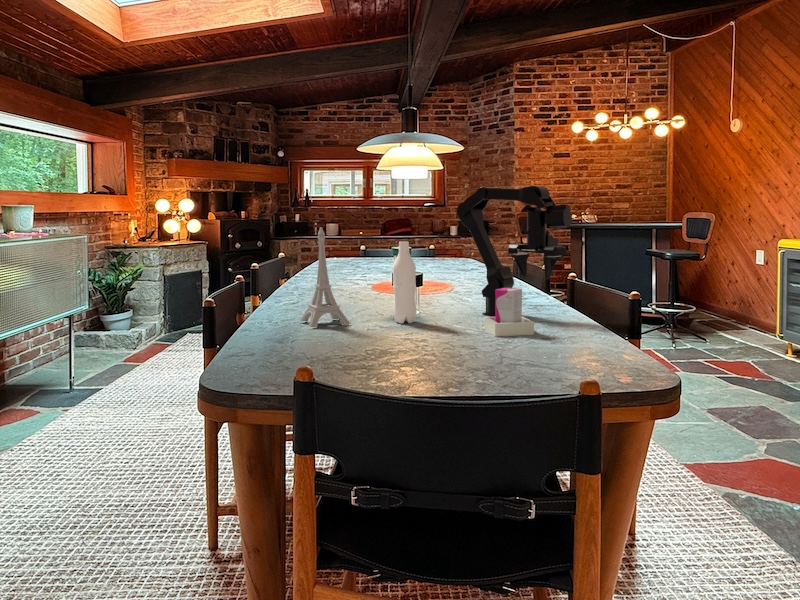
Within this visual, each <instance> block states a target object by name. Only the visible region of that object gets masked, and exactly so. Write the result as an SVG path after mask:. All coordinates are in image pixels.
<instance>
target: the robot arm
mask: <svg viewBox="0 0 800 600" xmlns="http://www.w3.org/2000/svg"><path fill="white" fill-rule="evenodd" d="M491 200H499V201H500V200H502V201H503V200H504V201H516V202H519V203H522V204H525V206H524V207H523V208H522V209H521V210H520V213H526V215H527V216H526V220H527V221H526V225H527V226H526V230H524V231H523V232H524V233H523V234H524V235H526V243H516V244H515V243H514V244H513V243H512V244H509V246H508V248H507V254H509V255H510V257H512V258H513V260H514V261H515V264H517V265H516V266H518V269H519V271H520V273H521V275H522V277H523V278H526V277H527V272H528V259H529V256H530V254H544V255H545V256H543V257H542V259H543V269H544V275H545V279H546V280H549V279H550V278H551V275H552V273H553V270H554V268H555V265H556V263H557V262H558V261H559V260H560V259H562V258H563V256H567V249H566V247H565V246H564V245H559V242H560V239H558V238H556V237H554V236H551V235H550V231H549V230H547V226H548V228H569V227H570V226H571V225H572V220H573V215H572V211H571V210H570V205H569V204H568V203H566V204H564V203H563V204H559V205H557V204H556V203H555V201H554V199H553V198H552V197H551V195H550V191H549V189H548V188H547V186H544V185H529V186H524V187H523V186H522V187H518V188H506V187H505V188H503V187H491V186H480V187H479V188H478V189H476V191H474V193H473V194H471V195H470V196H468V197H467V198H466V199H465V200H464V201H462V202H461V203H459V204H458V206H457V208H456V211H455V212H456V215H457V216H456V217H457V218H458V219H459V221H460V222H461V224H462V225H463V226H464V227H466V228H467V230H469V232H470V234H471V237H472V239H473V241H474V243H475V246H476V248H477V250H478V253H479V254H480V257H481V259H482V262H483V263H484V266H485V268H486V281H487V284H486V285H485V286H484V288H483V289H482V290H481V293H482V298H485V312H482V313H481V314H482V315H485V316H488V317H495V300H496V295H495V291H496V289H501V288H514V284H515V280H514V278H515V276H514V274H513V273H512V270H511V267H510V266H509V265H506V266H504V265H503V264H502V263H501V262H500V261H501V260H500V259H499V257H498V255H497V253H496V250H495V248H494V245H493V243H492V241H491V239H490V237H489V234H488V233H487V230H486V229H485V226H484V213H483V211H484V210H485V209H486V208H487V206H488V203H489V201H491ZM543 209H544V210H543Z"/></svg>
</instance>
